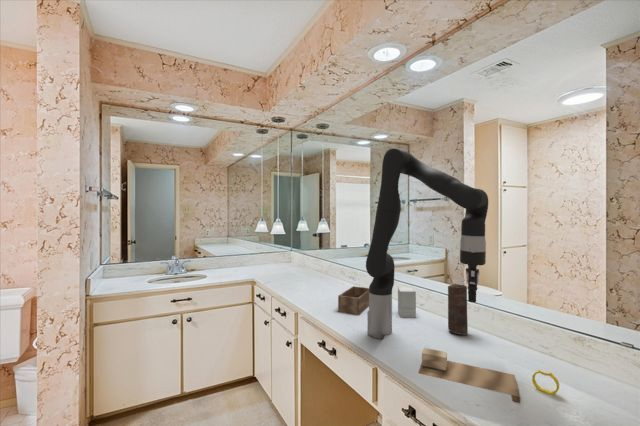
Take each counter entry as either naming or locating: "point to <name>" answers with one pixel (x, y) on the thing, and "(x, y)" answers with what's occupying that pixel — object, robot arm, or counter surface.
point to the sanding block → (434, 359)
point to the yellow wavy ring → (547, 373)
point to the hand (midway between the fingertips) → (471, 298)
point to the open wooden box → (353, 300)
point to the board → (477, 378)
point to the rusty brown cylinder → (457, 309)
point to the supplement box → (407, 302)
